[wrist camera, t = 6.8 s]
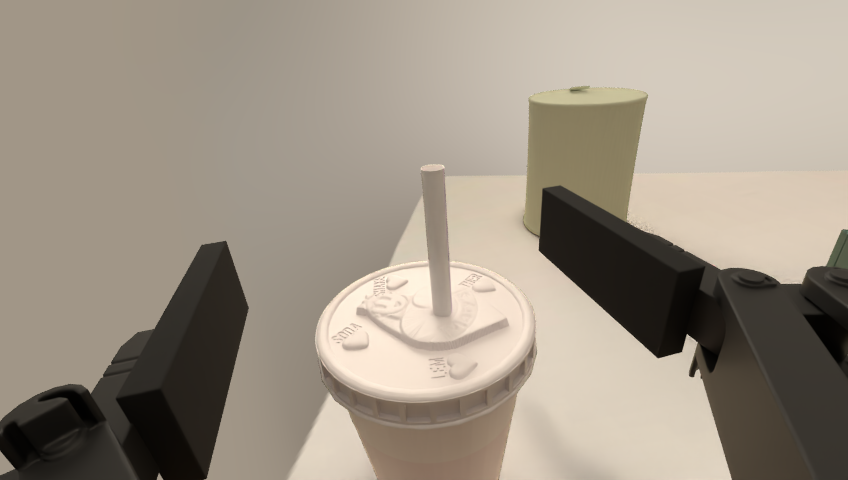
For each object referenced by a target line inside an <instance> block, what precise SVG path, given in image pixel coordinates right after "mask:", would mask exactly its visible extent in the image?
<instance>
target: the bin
mask: <svg viewBox="0 0 848 480" xmlns="http://www.w3.org/2000/svg"><path fill="white" fill-rule="evenodd" d="M826 267H841V269H843V268H845V269H848V230H844V229H843V230H842V231H841V233H840V235H839V238H838V240H837V242H836V244H835V247H834V249H833V251H832V254H831V256H830V258H829V261H828V263H827V265H826Z"/></svg>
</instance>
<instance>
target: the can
mask: <svg viewBox="0 0 848 480" xmlns="http://www.w3.org/2000/svg"><path fill="white" fill-rule="evenodd" d="M647 98H648V94H647V93H646V92H643V91H639V90H634V89H625V88H589V86H581V87H573V88H570V89H561V90H553V91H546V92H541V93H537V94H534V95H532V96H530V97H529V135H528V164H527V187H526V204H525V214H524V217H523V222H524V225H525V226H526V228H527V229H528V230H530V231H531V232H532V233H534V234H536V235H538V236H540V222H541V205H542V188H547V187H553V186H559V185H561V186H563V187H564V188H566V189H568V190H570V191H572V192H573V193H575V194H577V195H579V196H581V197H582V198H584V199H586V200H588V201H589V202H591V203H593V204H595V205H597V206H598V207H600V208H602V209H604V210H606V211H607V212H609V213H611V214H613V215H615V216H616V217H618V218H620V219H622V220H623V221H625V222H627V211H628V204H629V198H630V191H631V185H632V179H633V173H634V166H635V160H636V154H637V148H638V143H639V136H640V131H641V126H642V120H643V115H644V109H645V104H646V100H647Z"/></svg>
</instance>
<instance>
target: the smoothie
mask: <svg viewBox="0 0 848 480" xmlns="http://www.w3.org/2000/svg"><path fill="white" fill-rule="evenodd" d="M421 176H422V188H423V200H424V212H425V224H426V235H427V247H428V259H429V261H416V262H410V263H404V264H399V265H395V266H391V267H388V268H384V269H381V270H379V271H376V272H374V273H371V274H369V275H367V276H365V277H363V278H361V279H359V280H357V281H355V282H354V283H352V284H351V285H349V286H348V287H347V288H345V289H344V290H342V291H341V292H340V293H339V294H338V295H337V296H336V297H335V298H334V299H333V300H332V301H331V302H330V304H329V305H328V306H327V307H326V308H325V310H324V312H323V313H322V315H321V317H320V319H319V322H318V325H317V328H316V335H315V343H316V349H317V353H318V356H319V357H318V362H319V368H320V373H321V378H322V382H323V383H324V385H325V386H326V388H327V389H328V390H329V392H330V394H331V395H332V397H333V398H334V400H335V401H336V402H338V403H339V404H340V405H342V406H343V407H345V408H346V409H347V410H348V412H349V414H350V417H351V419H352V422H353V424H354V425H355V427H356V430H357V432H358V434H359V437H360V439H361V441H362V444H363V446H364V448H365V451H366V453H367V455H368V458H369V460H370V462H371V465H372V467H373V469H374V472H375V474H376V476H377V479H378V480H499V476H500V471H501V467H502V462H503V457H504V453H505V448H506V443H507V439H508V434H509V429H510V424H511V420H512V415H513V411H514V408H515V403H516V398H517V393H518V391H519V390H520V389H521V387H522V386H523V384H524V383H525V382H526V380H527V379H528V378H529V376H530V375H531V373H532V369H533V366H534V362H535V358H536V355H537V347H536V338H535V335H536V317H535V313H534V310H533V307H532V305H531V303H530V301H529V300H528V298H527V297H526V295H525V294H524V293H523V292H522V291H521V290H520V289H519V288H518V287H517V286H516V285H515V284H513V283H512V282H511V281H509V280H508V279H506V278H504V277H503V276H501V275H499V274H497V273H495V272H493V271H490V270H488V269H485V268H483V267H479V266H475V265H471V264H467V263H461V262H454V261H449V245H448V227H447V210H446V193H445V175H444V166H442V165H438V164H434V165H433V164H432V165H426V166H423V167H422V168H421Z"/></svg>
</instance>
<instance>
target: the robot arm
mask: <svg viewBox="0 0 848 480" xmlns="http://www.w3.org/2000/svg"><path fill="white" fill-rule="evenodd" d="M539 251H540V252H541V253H542V254H543V255H544V256H545V257H546V258H547V259H549V260H550V261H551V262H552V263H553V264H554V265H555V266H556V267H557V268H559V269H560V270H561V271H562V272H563V273H564V274H565V275H566V276H567V277H568V278H570V279H571V280H572V281H573V282H574V283H575V284H576V285H577V286H578V287H580V288H581V289H582V290H583V291H584V292H585V293H586V294H587V295H588V296H590V297H591V298H592V299H593V300H594V301H595V302H596V303H597V304H598V305H600V306H601V307H602V308H603V309H604V310H605V311H606V312H607V313H608V314H609V315H611V316H612V317H613V318H614V319H615V320H616V321H617V322H618V323H619V324H621V325H622V326H623V327H624V328H625V329H626V330H627V331H628V332H629V333H631V334H632V335H633V336H634V337H635V338H636V339H637V340H638V341H639V342H640V343H642V344H643V345H644V346H645V347H646V348H647V349H648V350H649V351H650V352H652V353H653V354H654V355H655V356H656V357H657V358H661V357H665V356H669V355H673V354H676V353H680V352H682V350H683V346H684V343H685V339H686V335H687V334H688V335H689V336H690V337H692V338H693V339H694V340H696V341H697V342H698V343H697V347H696V350H695V354H694V357H693V360H692V364H691V367H690V370H689V376H690V377H694V375H695V372H696V370H698V369H700V373H701V379H702V380H703V383H704V386H705V390H706V393H707V397H708V400H709V403H710V407H711V410H712V413H713V417H714V420H715V424H716V427H717V430H718V434H719V437H720V440H721V444H722V447H723V451H724V454H725V457H726V461H727V464H728V468H729V471H730V474H731V478H732V480H848V269H845V268H843V269H841V267H825V266H820V267H813V268H811V269H809V270H807V273H806V275H805V278H804V280H803V282H802V284H780V283H779V282H778V281H777V280H776V279H774V278H772V277H770V276H768V275H766V274H764V273H761V272H757V271H754V270H749V269H743V268H728V269H724V270H720V269H718V268H716V267H715V266H713V265H711V264H709V263H707V262H706V261H704V260H702V259H700V258H698V257H696V256H695V255H693V254H691V253H689V252H687V251H686V252H685V251H684V249H682V248H680V247H678V246H676V245H675V246H674V245H673V243H671V242H669V241H667V240H665V239H663V238H662V237H660V236H657V235H653V234H650V233H647V232H644V231H641V230H640V229H638V228H636V227H634V226H632V225H631V224H629V223H627V222H625V221H623V220H622V219H620V218H618V217H616V216H615V215H613V214H611V213H609V212H607V211H606V210H604V209H602V208H600V207H598V206H597V205H595V204H593V203H591V202H589V201H588V200H586V199H584V198H582V197H581V196H579V195H577V194H575V193H573V192H572V191H570V190H568V189H566V188H564V187H563V186H561V185H559V186H553V187H547V188H542V205H541V222H540V239H539ZM248 309H249V308H248V305H247V302H246V299H245V296H244V293H243V290H242V287H241V284H240V281H239V278H238V275H237V272H236V269H235V266H234V263H233V260H232V257H231V254H230V251H229V248H228V245H227V242H226V241H223V242H217V243H211V244H205V245H202V246H201V247H200V249H199V251H198V252H197V254H196V256H195V258H194V260H193V261H192V263H191V265H190V267H189V268H188V270H187V272H186V274H185V276H184V277H183V279H182V281H181V283H180V285H179V287H178V288H177V290H176V292H175V293H174V295H173V297H172V299H171V300H170V302H169V304H168V306H167V308H166V309H165V311H164V313H163V315H162V316H161V318H160V320H159V322H158V324H157V325H156V327H155V329H152V330H148V331H142V332H138V333H137V334H135V335H134V336H133V337H132V338H131V339H130V340H128V341H127V342H126V343H125V344H124V345H123V346H121V348H120V349H119V351H118V353H117V354H116V355H115V357H114V358H113V360H112V362H111V365H109V366H108V368H107V370H106V371H105V373H104V374H103V378H101V379H100V381H99V382H98V384H97V385H96V387H95V388H94V390H93V391H92V393H91V394H90V392H89V391H88V389H86V388H85V387H84V386H82V385H75V384H68V385H64V386H60V387H55V388H52V389H50V390H47V391H45V392H42V393H40V394H37V395H35V396H34V397H32V398H30V399H29V400H27V401H25V402H23V403H22V404H20V405H18V406H17V407H16V408H15V409H13V410H12V411H11V412H10V413H8V414H7V415H6V416H5V417H4V418H3V419H2V420H1V421H0V451H1V452H2V453H3V455H4V456H5V457H6V458H7V459H8V461H9V462H10V463H11V464H12V465H13V467H14V468H15V469H14V470H12V471H10V472H7V473H5V474H3V475H1V476H0V480H157V477H158V474H159V473H160V475H161V476H162V478H163V480H204V479H206V478H207V475H208V471H209V467H210V463H211V458H212V454H213V450H214V446H215V442H216V438H217V434H218V430H219V426H220V422H221V418H222V414H223V410H224V406H225V402H226V398H227V394H228V390H229V385H230V381H231V377H232V373H233V369H234V365H235V361H236V357H237V353H238V349H239V345H240V341H241V337H242V333H243V329H244V325H245V321H246V316H247V313H248Z"/></svg>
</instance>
